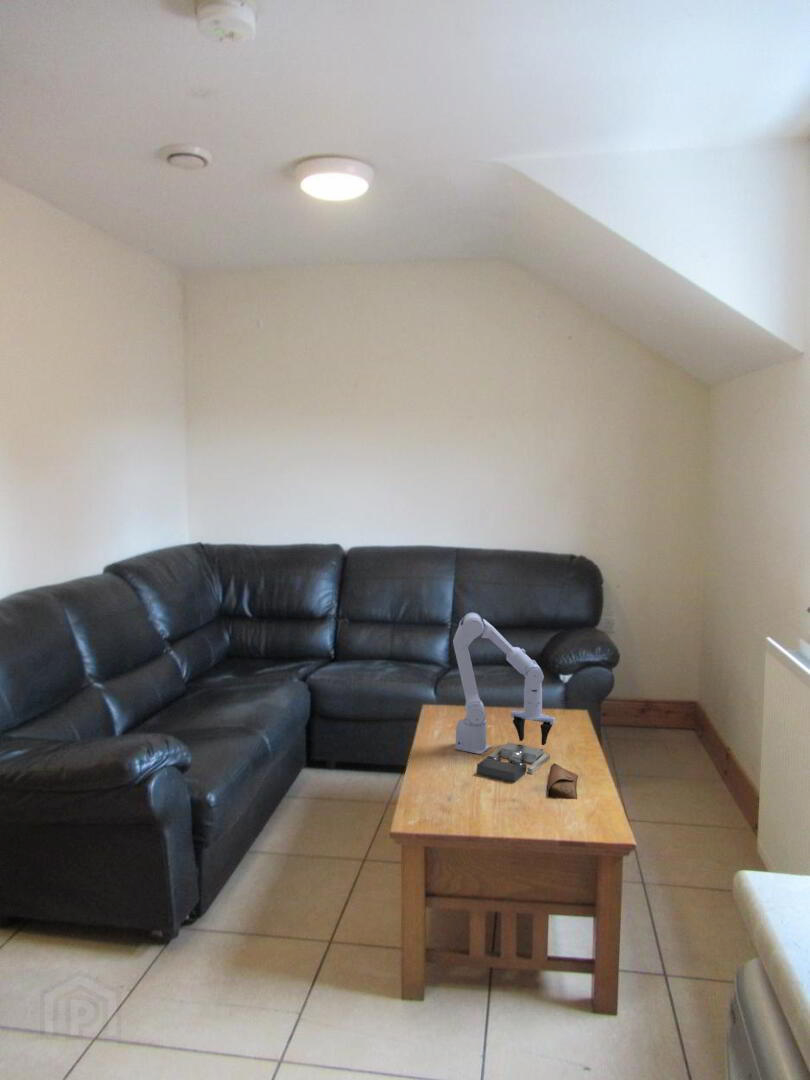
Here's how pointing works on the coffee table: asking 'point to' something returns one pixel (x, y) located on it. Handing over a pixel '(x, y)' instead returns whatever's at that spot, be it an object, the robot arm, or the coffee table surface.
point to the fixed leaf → (501, 769)
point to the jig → (533, 767)
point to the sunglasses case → (562, 783)
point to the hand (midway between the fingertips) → (532, 742)
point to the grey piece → (521, 753)
